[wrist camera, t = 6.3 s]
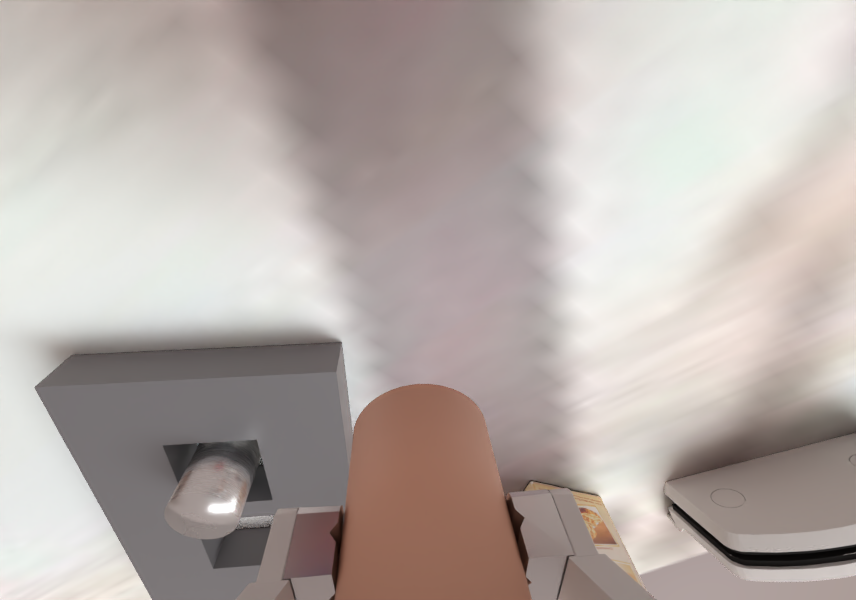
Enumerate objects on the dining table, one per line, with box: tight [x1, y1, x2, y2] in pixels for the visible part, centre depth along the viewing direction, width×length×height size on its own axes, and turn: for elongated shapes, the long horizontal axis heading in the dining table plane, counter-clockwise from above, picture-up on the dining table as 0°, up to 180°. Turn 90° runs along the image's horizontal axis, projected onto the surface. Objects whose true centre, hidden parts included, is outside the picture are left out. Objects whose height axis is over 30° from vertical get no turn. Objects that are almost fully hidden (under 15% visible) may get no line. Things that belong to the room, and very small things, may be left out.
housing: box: [34, 343, 353, 600], centre depth 29 cm, size 22×16×3 cm
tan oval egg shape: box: [335, 384, 532, 600], centre depth 10 cm, size 4×4×6 cm
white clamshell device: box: [664, 433, 856, 582], centre depth 32 cm, size 17×5×10 cm, turn 106°
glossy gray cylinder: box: [164, 440, 261, 539], centre depth 27 cm, size 4×4×6 cm
